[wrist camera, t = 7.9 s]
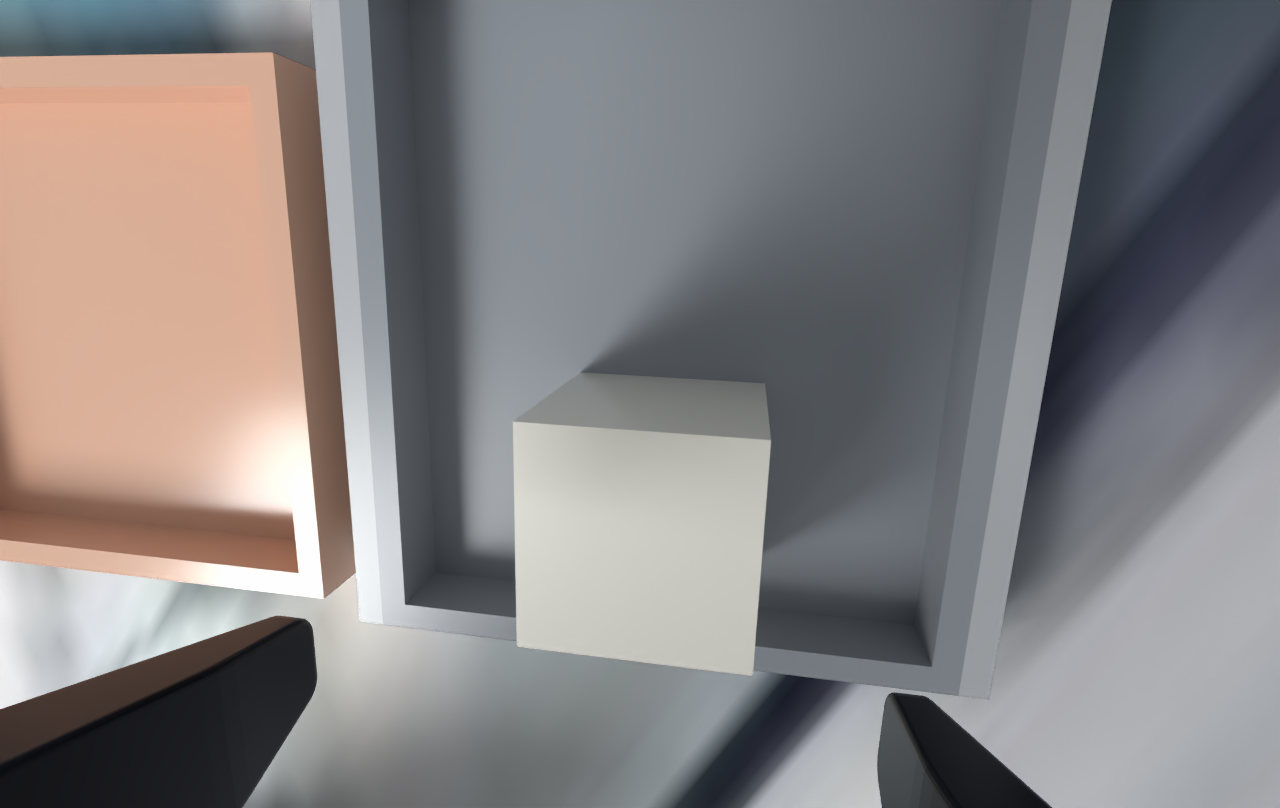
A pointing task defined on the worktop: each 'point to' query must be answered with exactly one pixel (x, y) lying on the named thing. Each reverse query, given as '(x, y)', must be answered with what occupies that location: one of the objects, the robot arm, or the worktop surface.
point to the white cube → (642, 520)
